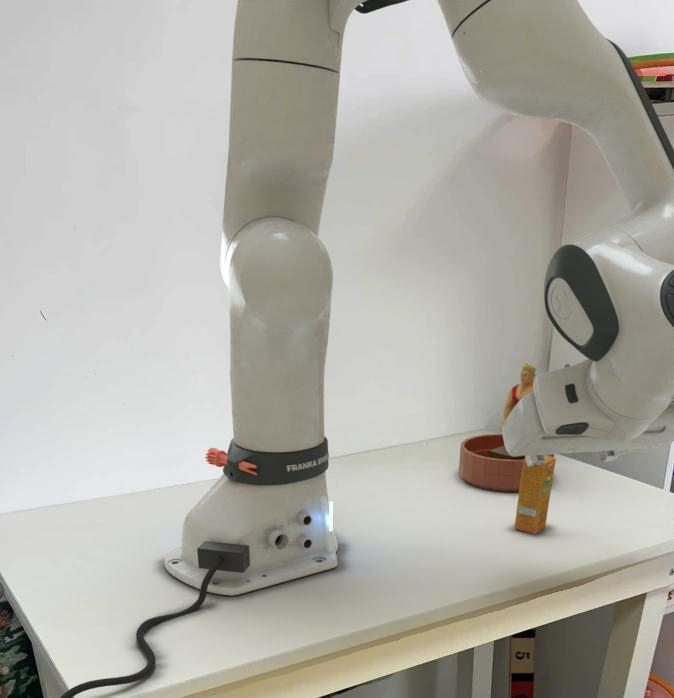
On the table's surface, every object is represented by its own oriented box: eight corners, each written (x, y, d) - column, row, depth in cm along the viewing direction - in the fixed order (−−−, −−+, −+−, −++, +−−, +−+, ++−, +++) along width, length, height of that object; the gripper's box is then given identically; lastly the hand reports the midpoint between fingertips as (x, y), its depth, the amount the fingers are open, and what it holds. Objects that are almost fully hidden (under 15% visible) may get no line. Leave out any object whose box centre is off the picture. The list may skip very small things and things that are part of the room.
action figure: (492, 447, 151) (499, 359, 144) (506, 443, 153) (514, 356, 146) (533, 460, 144) (543, 369, 138) (548, 456, 146) (558, 366, 140)
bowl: (515, 499, 128) (519, 467, 125) (440, 477, 137) (442, 446, 134) (568, 477, 137) (572, 446, 134) (494, 458, 146) (496, 428, 143)
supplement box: (537, 535, 116) (545, 462, 111) (513, 529, 117) (520, 457, 113) (548, 527, 118) (556, 456, 113) (524, 522, 120) (532, 451, 115)
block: (508, 481, 133) (510, 456, 131) (487, 475, 136) (489, 450, 134) (523, 475, 136) (526, 450, 134) (502, 469, 138) (504, 445, 136)
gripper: (701, 366, 94) (642, 430, 107) (522, 374, 91) (484, 439, 104) (717, 418, 92) (655, 476, 105) (535, 428, 89) (494, 487, 102)
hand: (569, 458), depth 105 cm, fingers open, 8 cm apart
